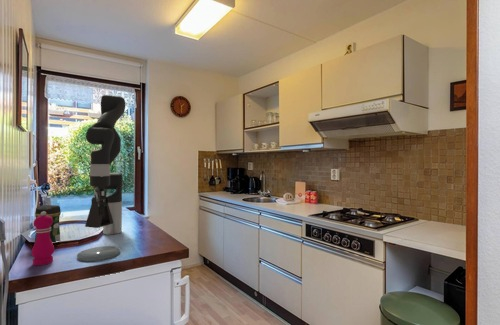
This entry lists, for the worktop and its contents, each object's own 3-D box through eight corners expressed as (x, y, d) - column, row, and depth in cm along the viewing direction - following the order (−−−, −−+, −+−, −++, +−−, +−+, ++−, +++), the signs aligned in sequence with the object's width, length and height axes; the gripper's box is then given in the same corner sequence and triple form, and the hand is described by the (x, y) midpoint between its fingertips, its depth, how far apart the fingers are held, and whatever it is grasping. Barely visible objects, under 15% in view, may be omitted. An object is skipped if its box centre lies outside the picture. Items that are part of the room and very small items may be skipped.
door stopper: (96, 228, 111) (96, 198, 110) (85, 227, 112) (85, 197, 112) (113, 223, 119) (113, 196, 119) (102, 222, 121) (102, 195, 121)
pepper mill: (39, 259, 110) (40, 209, 110) (58, 259, 110) (58, 209, 110) (26, 266, 102) (26, 213, 102) (46, 265, 103) (47, 213, 103)
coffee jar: (30, 246, 126) (31, 206, 126) (44, 241, 134) (45, 203, 134) (51, 246, 126) (51, 206, 125) (63, 241, 133) (64, 204, 133)
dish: (75, 253, 117) (75, 250, 117) (115, 246, 127) (115, 243, 127) (79, 264, 104) (79, 261, 104) (124, 256, 114) (124, 253, 114)
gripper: (87, 174, 119) (87, 212, 119) (92, 175, 108) (92, 217, 108) (106, 173, 124) (106, 210, 124) (113, 175, 112) (113, 215, 112)
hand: (99, 213), depth 116 cm, fingers closed on door stopper, 6 cm apart
